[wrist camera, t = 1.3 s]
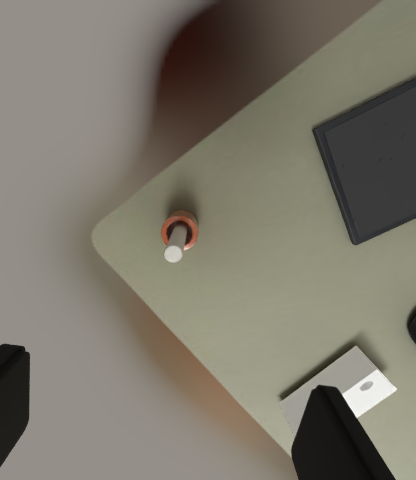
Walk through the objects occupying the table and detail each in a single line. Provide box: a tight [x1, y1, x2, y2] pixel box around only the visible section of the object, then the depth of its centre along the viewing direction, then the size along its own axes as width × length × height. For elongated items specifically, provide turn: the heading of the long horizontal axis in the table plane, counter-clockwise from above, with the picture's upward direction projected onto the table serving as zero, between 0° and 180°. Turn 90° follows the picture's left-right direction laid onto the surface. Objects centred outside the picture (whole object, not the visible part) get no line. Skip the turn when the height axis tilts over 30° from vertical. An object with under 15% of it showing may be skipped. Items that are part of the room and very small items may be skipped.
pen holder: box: [161, 210, 198, 251], centre depth 28 cm, size 4×4×4 cm
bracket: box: [279, 346, 397, 437], centre depth 33 cm, size 13×7×8 cm, turn 134°
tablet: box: [312, 78, 416, 245], centre depth 28 cm, size 14×18×1 cm
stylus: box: [164, 221, 188, 263], centre depth 25 cm, size 1×1×10 cm
